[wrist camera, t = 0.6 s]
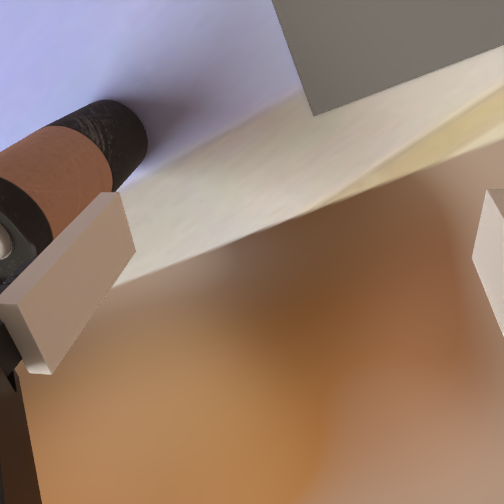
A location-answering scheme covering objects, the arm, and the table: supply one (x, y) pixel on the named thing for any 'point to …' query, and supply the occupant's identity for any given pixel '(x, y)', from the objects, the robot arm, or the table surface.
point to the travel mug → (63, 176)
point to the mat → (381, 42)
